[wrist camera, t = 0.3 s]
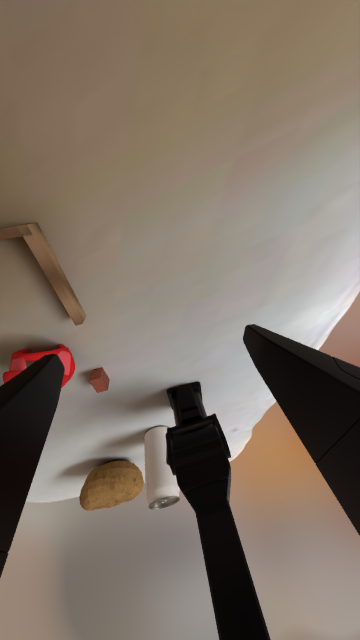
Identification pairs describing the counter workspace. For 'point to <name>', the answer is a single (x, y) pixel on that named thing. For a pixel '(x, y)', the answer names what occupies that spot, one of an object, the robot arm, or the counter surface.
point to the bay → (48, 266)
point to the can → (158, 471)
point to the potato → (111, 485)
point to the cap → (25, 355)
